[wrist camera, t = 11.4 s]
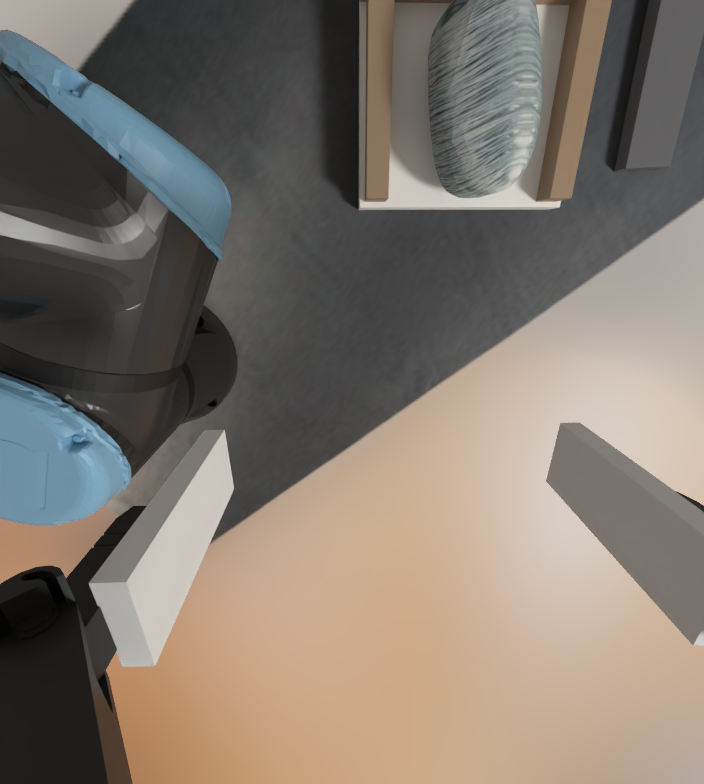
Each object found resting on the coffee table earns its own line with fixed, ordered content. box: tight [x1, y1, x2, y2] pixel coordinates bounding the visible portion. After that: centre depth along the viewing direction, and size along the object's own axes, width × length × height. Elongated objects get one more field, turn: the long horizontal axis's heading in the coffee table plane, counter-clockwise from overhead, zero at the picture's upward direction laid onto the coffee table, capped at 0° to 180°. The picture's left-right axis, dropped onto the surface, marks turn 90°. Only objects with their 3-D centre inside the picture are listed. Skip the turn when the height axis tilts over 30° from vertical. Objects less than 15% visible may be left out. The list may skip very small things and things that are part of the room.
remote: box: [614, 0, 704, 172], centre depth 32 cm, size 4×14×2 cm, turn 3°
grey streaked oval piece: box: [428, 0, 542, 198], centre depth 28 cm, size 14×10×10 cm
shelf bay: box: [359, 0, 612, 210], centre depth 31 cm, size 20×16×4 cm
